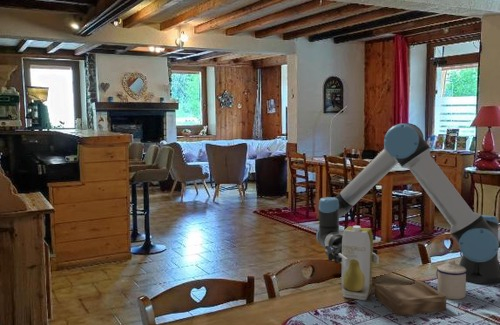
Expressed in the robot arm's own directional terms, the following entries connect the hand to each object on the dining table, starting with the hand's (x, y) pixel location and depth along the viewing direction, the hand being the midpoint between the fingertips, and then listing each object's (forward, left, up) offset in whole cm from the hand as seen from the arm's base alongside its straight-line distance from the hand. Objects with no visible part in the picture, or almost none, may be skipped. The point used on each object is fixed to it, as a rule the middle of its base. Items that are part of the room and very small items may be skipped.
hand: (362, 261), depth 159 cm
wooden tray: (-13, +6, -13) cm, 19 cm away
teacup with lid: (-30, +1, -13) cm, 33 cm away
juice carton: (0, -4, -13) cm, 14 cm away
